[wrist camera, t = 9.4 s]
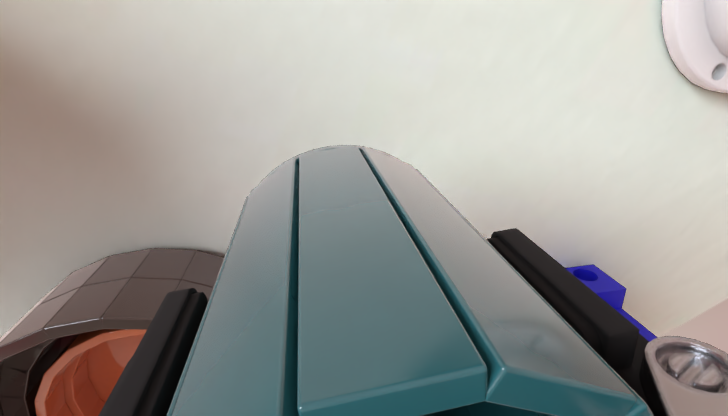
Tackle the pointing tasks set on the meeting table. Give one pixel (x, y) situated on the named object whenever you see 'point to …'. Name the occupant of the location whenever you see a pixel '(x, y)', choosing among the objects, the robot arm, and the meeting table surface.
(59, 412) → the small bowl
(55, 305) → the large bowl
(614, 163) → the meeting table surface
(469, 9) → the meeting table surface
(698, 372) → the robot arm
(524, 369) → the cup
